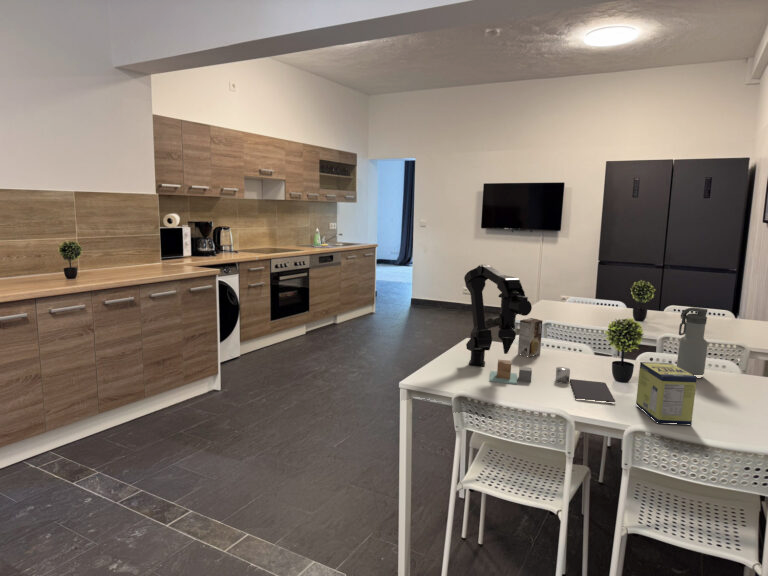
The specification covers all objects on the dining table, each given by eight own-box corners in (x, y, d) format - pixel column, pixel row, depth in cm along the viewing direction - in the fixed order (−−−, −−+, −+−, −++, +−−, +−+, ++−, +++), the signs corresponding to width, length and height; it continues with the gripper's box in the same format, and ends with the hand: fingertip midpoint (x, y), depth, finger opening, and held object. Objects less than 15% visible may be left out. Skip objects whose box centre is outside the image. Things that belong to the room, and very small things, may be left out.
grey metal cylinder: (554, 378, 196) (555, 366, 196) (568, 380, 195) (569, 367, 195) (555, 382, 192) (557, 369, 191) (569, 384, 190) (570, 371, 190)
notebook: (569, 382, 194) (575, 401, 173) (569, 378, 193) (576, 397, 173) (604, 386, 191) (615, 406, 170) (605, 382, 190) (615, 401, 170)
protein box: (666, 407, 169) (671, 362, 167) (692, 426, 154) (698, 377, 152) (634, 405, 170) (639, 361, 168) (657, 424, 154) (663, 375, 152)
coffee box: (528, 351, 236) (531, 317, 234) (540, 354, 231) (543, 320, 229) (516, 354, 230) (519, 319, 228) (529, 357, 225) (531, 322, 223)
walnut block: (497, 374, 198) (498, 359, 197) (510, 375, 196) (511, 360, 196) (496, 377, 193) (497, 362, 192) (510, 379, 192) (511, 364, 191)
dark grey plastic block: (518, 377, 196) (519, 366, 196) (530, 378, 195) (531, 367, 195) (518, 381, 192) (519, 369, 192) (530, 382, 191) (531, 371, 190)
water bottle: (671, 374, 207) (678, 307, 203) (679, 370, 213) (687, 305, 209) (698, 380, 199) (707, 311, 196) (706, 376, 206) (715, 309, 202)
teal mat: (490, 372, 202) (490, 370, 202) (516, 374, 199) (516, 373, 199) (489, 381, 190) (489, 380, 190) (517, 384, 188) (517, 382, 188)
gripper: (487, 305, 202) (485, 343, 204) (485, 313, 184) (483, 354, 186) (516, 307, 199) (513, 345, 201) (517, 315, 181) (514, 357, 183)
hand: (505, 350), depth 193 cm, fingers open, 9 cm apart
